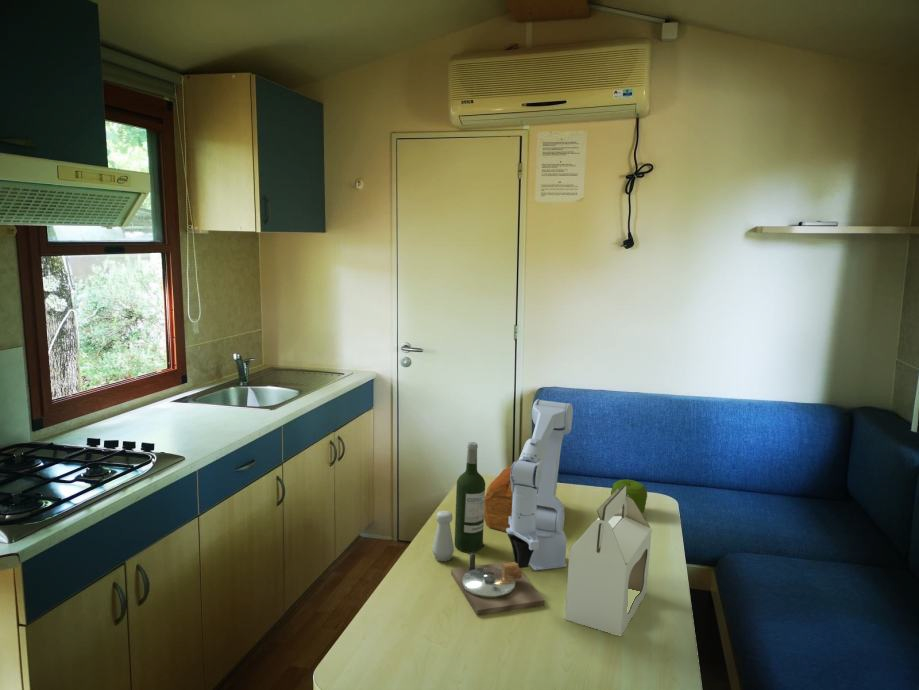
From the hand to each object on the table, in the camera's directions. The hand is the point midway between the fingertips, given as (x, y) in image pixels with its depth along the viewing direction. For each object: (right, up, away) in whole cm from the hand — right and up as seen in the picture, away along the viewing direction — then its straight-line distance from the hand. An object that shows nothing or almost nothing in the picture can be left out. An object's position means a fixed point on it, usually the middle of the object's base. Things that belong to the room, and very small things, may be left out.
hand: (521, 564), depth 166 cm
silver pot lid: (-7, -7, +6) cm, 11 cm away
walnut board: (-6, -8, +7) cm, 12 cm away
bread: (+4, -1, +51) cm, 51 cm away
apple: (+39, -1, +56) cm, 69 cm away
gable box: (+21, -10, +1) cm, 23 cm away
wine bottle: (-12, -4, +29) cm, 32 cm away
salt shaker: (-19, -5, +22) cm, 30 cm away
